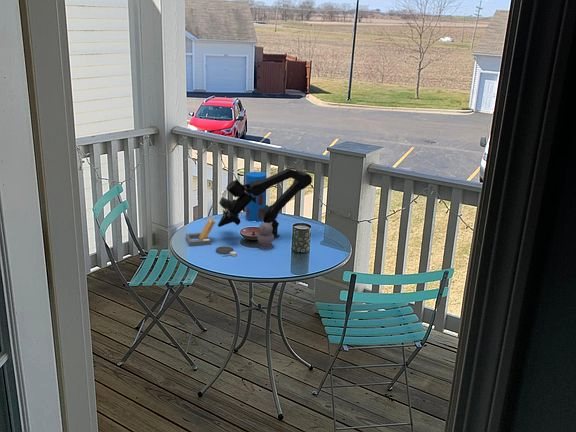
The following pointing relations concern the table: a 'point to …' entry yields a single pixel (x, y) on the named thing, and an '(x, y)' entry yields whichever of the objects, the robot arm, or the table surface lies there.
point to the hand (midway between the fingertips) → (218, 226)
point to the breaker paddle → (207, 228)
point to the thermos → (255, 208)
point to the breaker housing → (197, 242)
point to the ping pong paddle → (226, 251)
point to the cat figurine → (265, 236)
